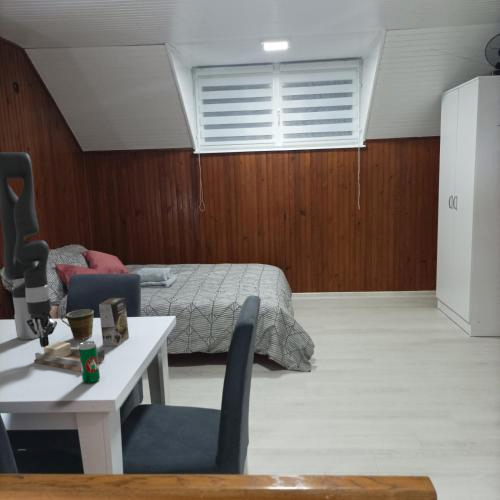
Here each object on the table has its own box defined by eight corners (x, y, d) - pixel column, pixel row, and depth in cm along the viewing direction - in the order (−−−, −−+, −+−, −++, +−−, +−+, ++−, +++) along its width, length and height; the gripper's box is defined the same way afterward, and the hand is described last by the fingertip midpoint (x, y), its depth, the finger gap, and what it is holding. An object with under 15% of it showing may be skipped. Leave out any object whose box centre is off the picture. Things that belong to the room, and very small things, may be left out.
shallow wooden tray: (34, 362, 154) (32, 351, 153) (57, 351, 163) (56, 341, 162) (84, 372, 144) (82, 360, 143) (106, 360, 153) (105, 348, 152)
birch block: (45, 358, 154) (43, 347, 153) (59, 352, 159) (57, 341, 159) (57, 360, 152) (56, 349, 151) (71, 354, 157) (70, 343, 156)
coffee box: (118, 346, 165) (114, 304, 162) (102, 346, 166) (97, 303, 164) (129, 337, 174) (125, 297, 171) (114, 337, 175) (110, 297, 172)
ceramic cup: (100, 332, 181) (97, 308, 179) (89, 341, 171) (86, 316, 170) (69, 333, 182) (66, 309, 181) (57, 342, 173) (53, 317, 171)
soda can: (85, 377, 140) (80, 341, 138) (101, 376, 140) (97, 339, 138) (80, 385, 135) (76, 347, 133) (97, 383, 135) (93, 345, 133)
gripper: (15, 300, 154) (22, 348, 157) (42, 302, 148) (49, 352, 151) (34, 294, 161) (40, 340, 163) (60, 297, 155) (67, 344, 158)
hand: (44, 346), depth 157 cm, fingers closed
